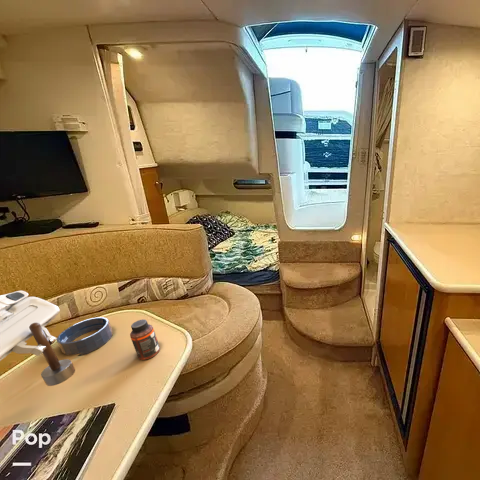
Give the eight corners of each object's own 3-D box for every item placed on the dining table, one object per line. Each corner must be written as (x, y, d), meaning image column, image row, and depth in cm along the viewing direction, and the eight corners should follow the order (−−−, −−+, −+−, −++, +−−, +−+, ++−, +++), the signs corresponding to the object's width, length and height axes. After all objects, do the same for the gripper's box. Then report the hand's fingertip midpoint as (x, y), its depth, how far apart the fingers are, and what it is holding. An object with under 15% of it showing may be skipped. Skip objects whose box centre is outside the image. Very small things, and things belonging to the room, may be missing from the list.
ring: (54, 352, 86) (47, 338, 85) (99, 326, 98) (94, 314, 96) (77, 362, 81) (71, 347, 79) (122, 334, 93) (117, 321, 91)
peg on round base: (41, 382, 67) (10, 328, 61) (67, 365, 71) (42, 314, 66) (53, 388, 65) (23, 333, 59) (80, 371, 69) (54, 318, 64)
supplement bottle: (164, 349, 84) (154, 319, 80) (146, 363, 79) (135, 331, 75) (152, 344, 87) (142, 315, 83) (134, 357, 82) (122, 327, 78)
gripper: (-67, 341, 50) (15, 372, 55) (28, 286, 69) (83, 313, 74) (-81, 363, 51) (1, 392, 56) (16, 303, 70) (71, 329, 75)
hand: (48, 346), depth 65 cm, fingers closed on peg on round base
